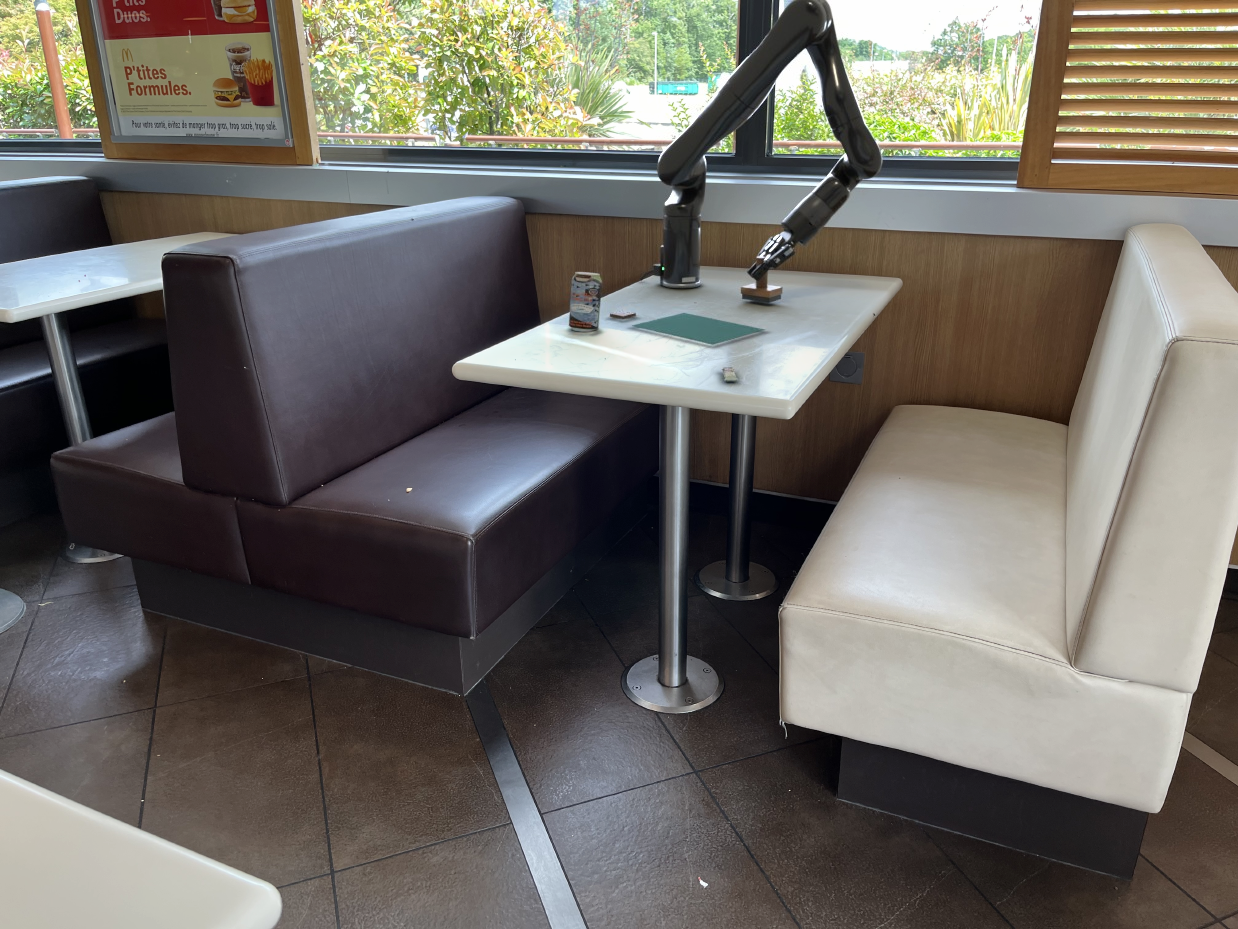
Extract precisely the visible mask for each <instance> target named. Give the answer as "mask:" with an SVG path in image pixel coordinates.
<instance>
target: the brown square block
mask: <svg viewBox="0 0 1238 929" xmlns="http://www.w3.org/2000/svg"><path fill="white" fill-rule="evenodd" d="M636 316H637V313H636V312H632V311H628V310H618V311H615V312H610V313H609V317H610V318H615V319H621V320H626V319H629V318H633V317H636Z"/></svg>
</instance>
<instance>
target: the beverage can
mask: <svg viewBox="0 0 1238 929" xmlns="http://www.w3.org/2000/svg"><path fill="white" fill-rule="evenodd" d="M574 273H575V274H574V275H573V276H572V278H571V287H570V301H569V314H568V327H569V328H571V330H572V331H574V332H582V333H590V332H594V331H595V330H598V329H599V327H600V326H599V325H600V316H601V315H600V313H601V299H602V288H603V287H602V286H603V280H602V278H601V276H600V273H597V272H596V273H595V272H588V271H586V272H585V271H575V272H574Z"/></svg>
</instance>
